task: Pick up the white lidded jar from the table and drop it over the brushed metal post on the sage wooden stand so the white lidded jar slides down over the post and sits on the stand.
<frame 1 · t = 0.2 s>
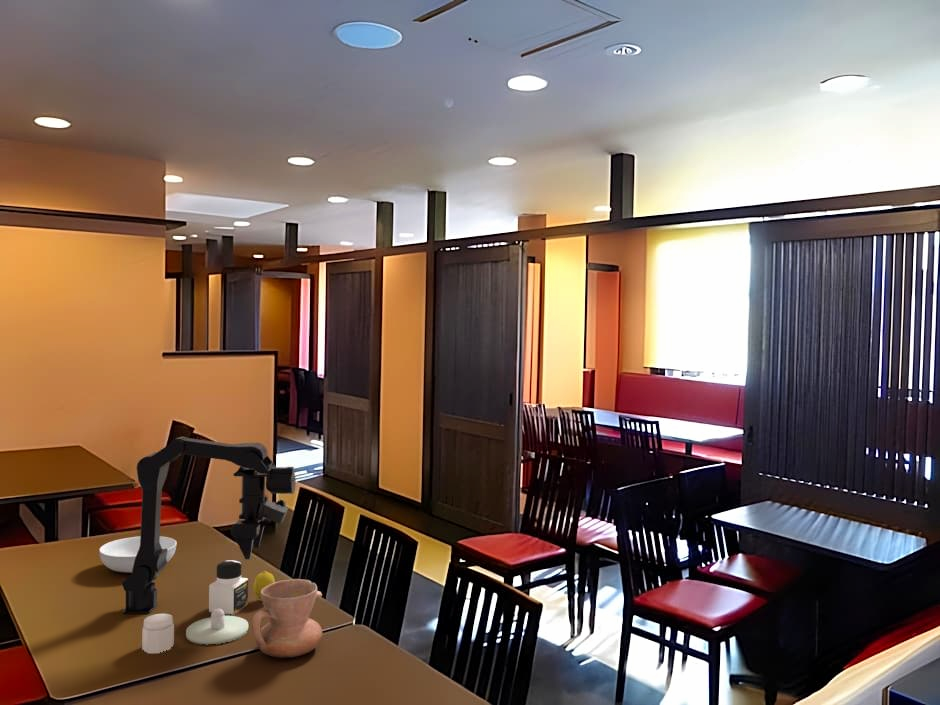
hand: (252, 553, 184), 15 cm above the table, tool pointing down, fingers open, 9 cm apart
white lidded jar: (158, 647, 162), on the table
medicine bottle: (228, 609, 185), on the table
post stand: (217, 631, 171), on the table
serving bowl: (138, 568, 213), on the table
ceramic jug: (286, 651, 163), on the table
lemon: (264, 601, 191), on the table
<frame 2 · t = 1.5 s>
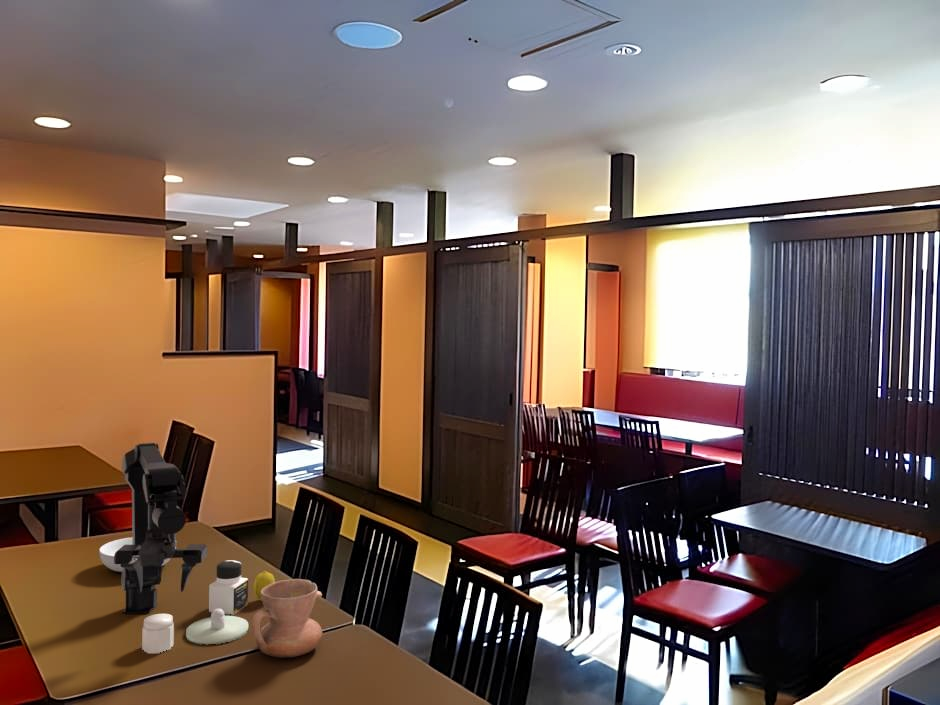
hand: (161, 591, 162), 13 cm above the table, tool pointing down, fingers open, 9 cm apart
nothing on the table moved.
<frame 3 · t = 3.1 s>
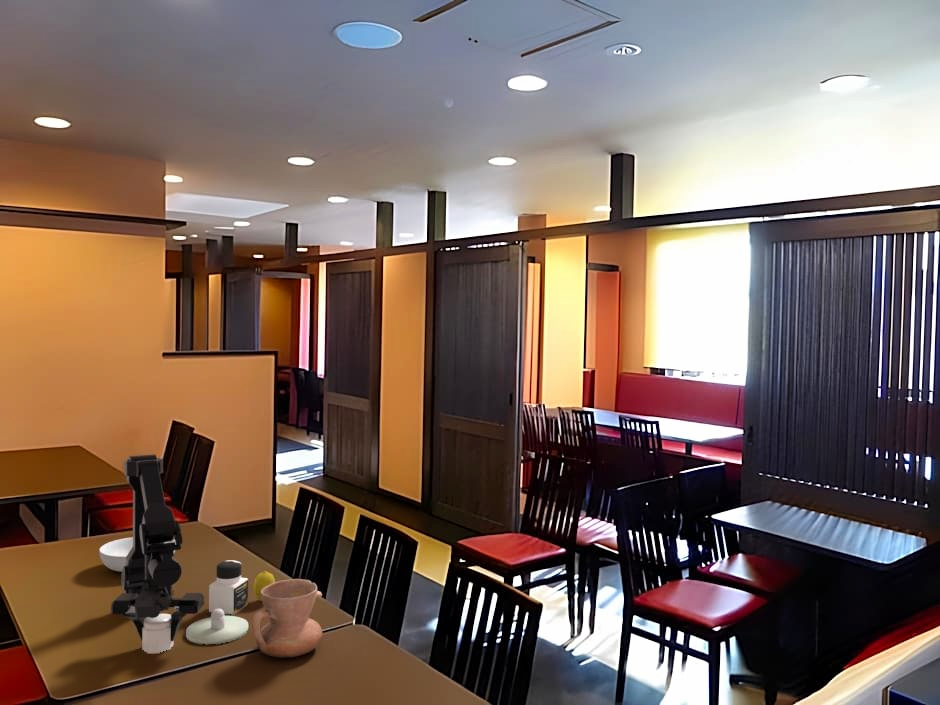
hand: (158, 640, 162), 2 cm above the table, tool pointing down, fingers closed on white lidded jar, 6 cm apart
white lidded jar: (158, 647, 162), on the table, touching gripper
everything else where it was.
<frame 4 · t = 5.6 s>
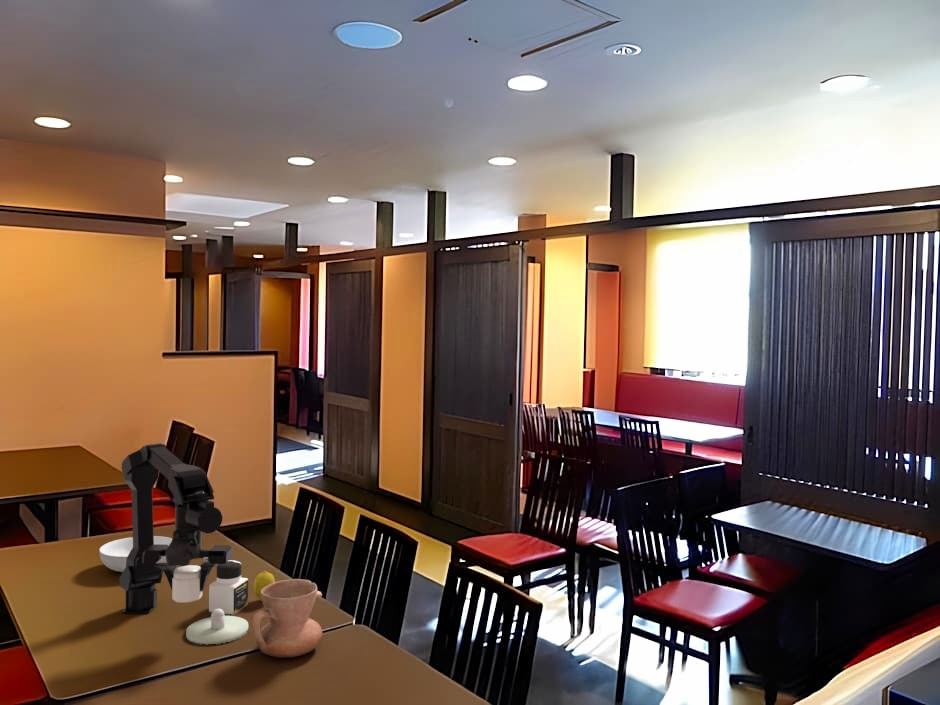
hand: (187, 590, 166), 12 cm above the table, tool pointing down, fingers closed on white lidded jar, 6 cm apart
white lidded jar: (187, 597, 166), point 10 cm above the table, touching gripper
everything else where it was.
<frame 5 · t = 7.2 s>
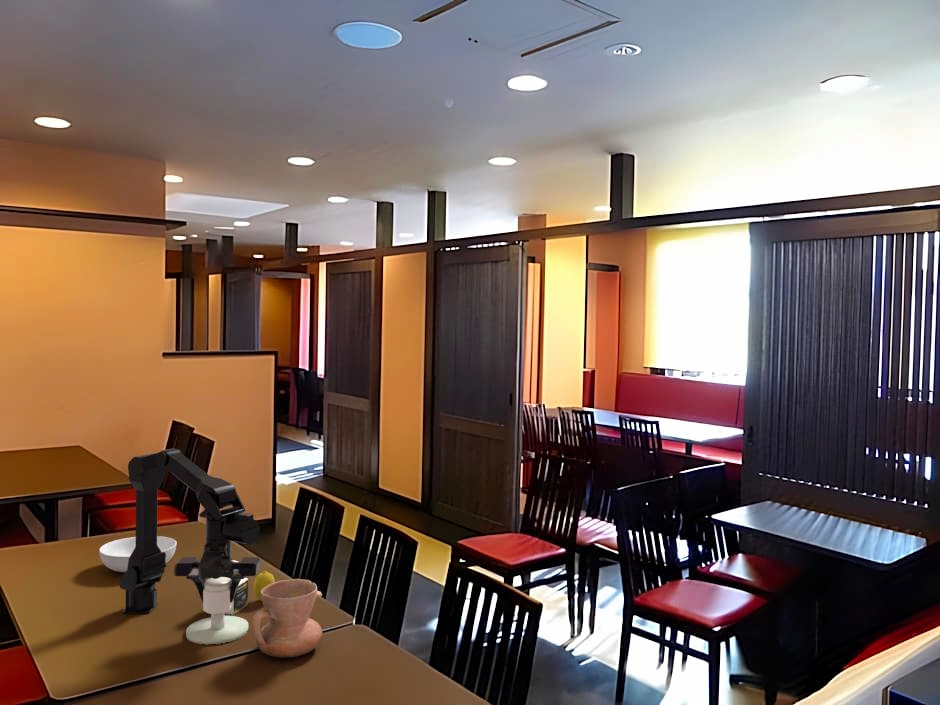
hand: (217, 602, 171), 7 cm above the table, tool pointing down, fingers closed on white lidded jar, 6 cm apart
white lidded jar: (217, 608, 171), point 6 cm above the table, touching gripper
everything else where it was.
when the fingers open (4 cm above the table, at t = 8.4 s): white lidded jar drops 1 cm, resting on post stand.
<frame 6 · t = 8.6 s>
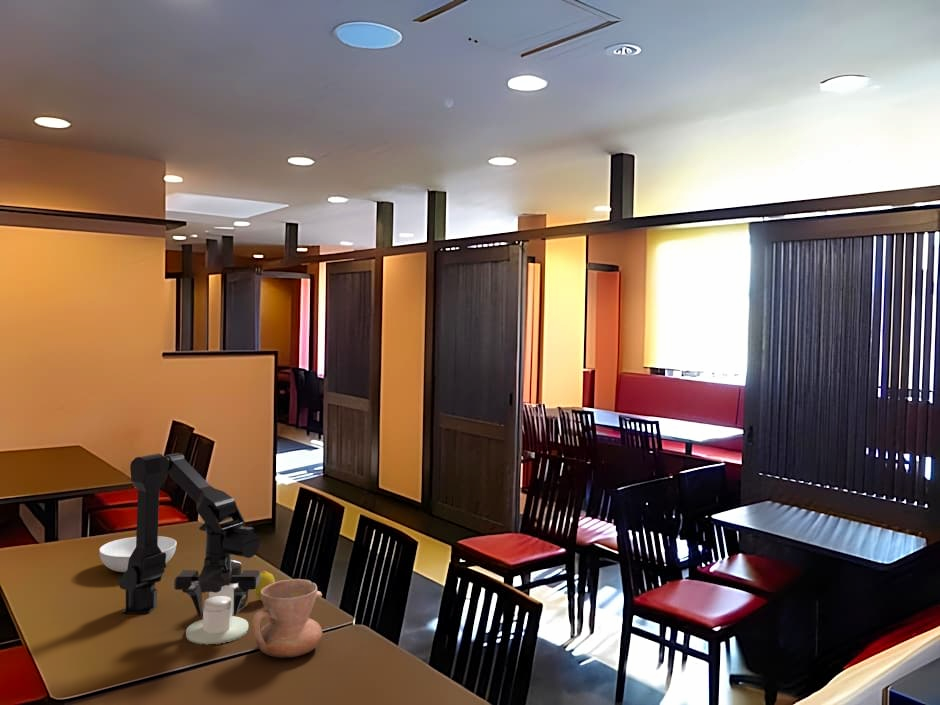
hand: (217, 615, 171), 4 cm above the table, tool pointing down, fingers open, 8 cm apart
white lidded jar: (217, 627, 171), point 1 cm above the table, touching post stand
everything else where it was.
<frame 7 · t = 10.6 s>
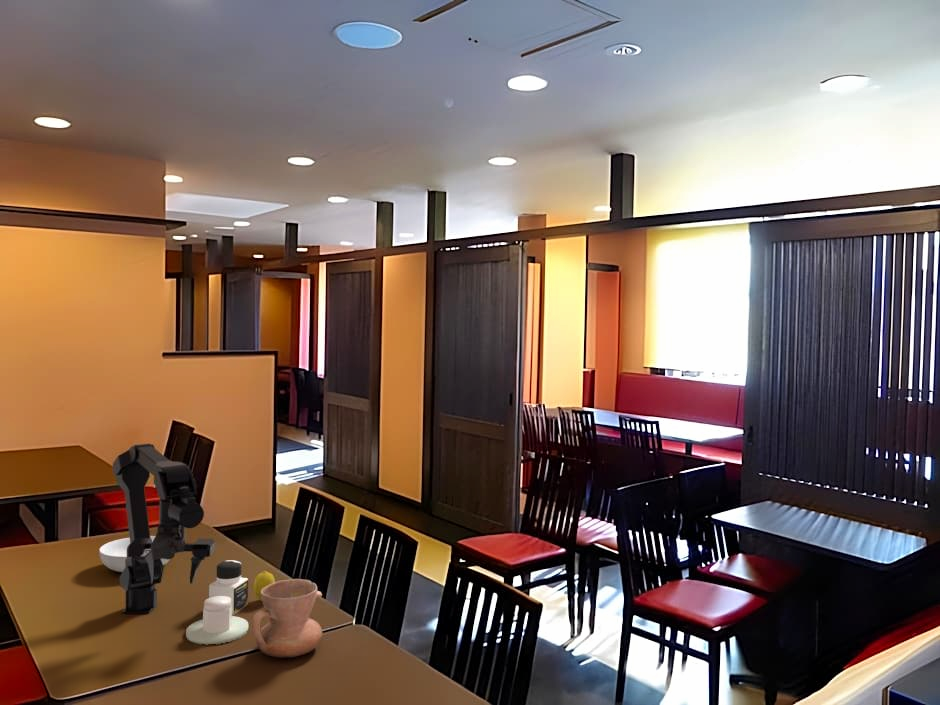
hand: (171, 583, 170), 12 cm above the table, tool pointing down, fingers open, 9 cm apart
nothing on the table moved.
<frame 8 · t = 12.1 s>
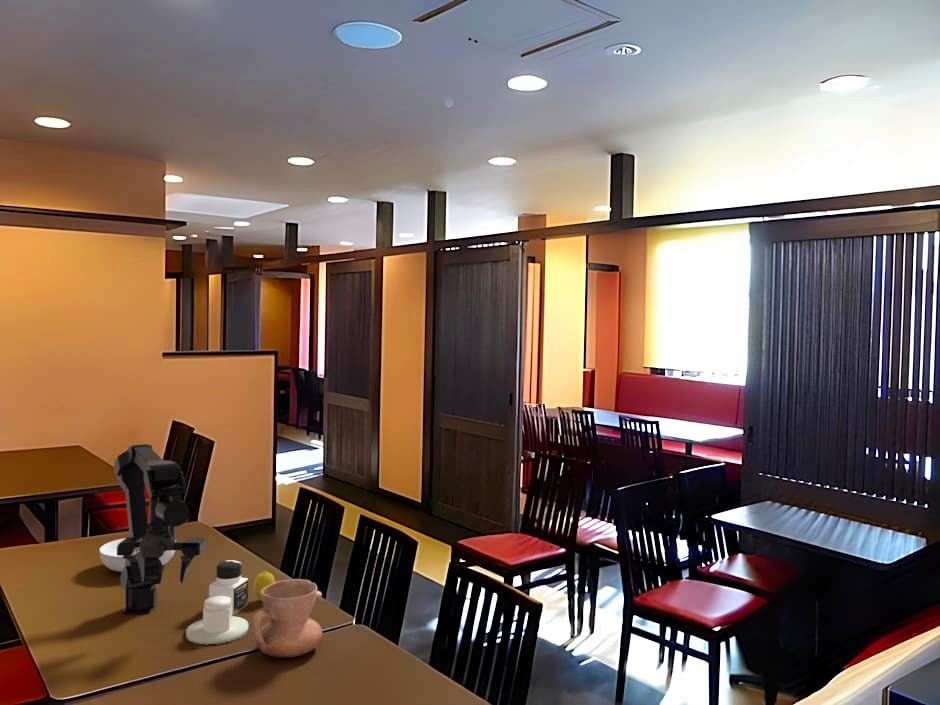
hand: (161, 582, 170), 12 cm above the table, tool pointing down, fingers open, 9 cm apart
nothing on the table moved.
at the end: white lidded jar 0.0 cm from the post stand (horizontally); white lidded jar point 1.0 cm above the table; white lidded jar tilted 0° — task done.
